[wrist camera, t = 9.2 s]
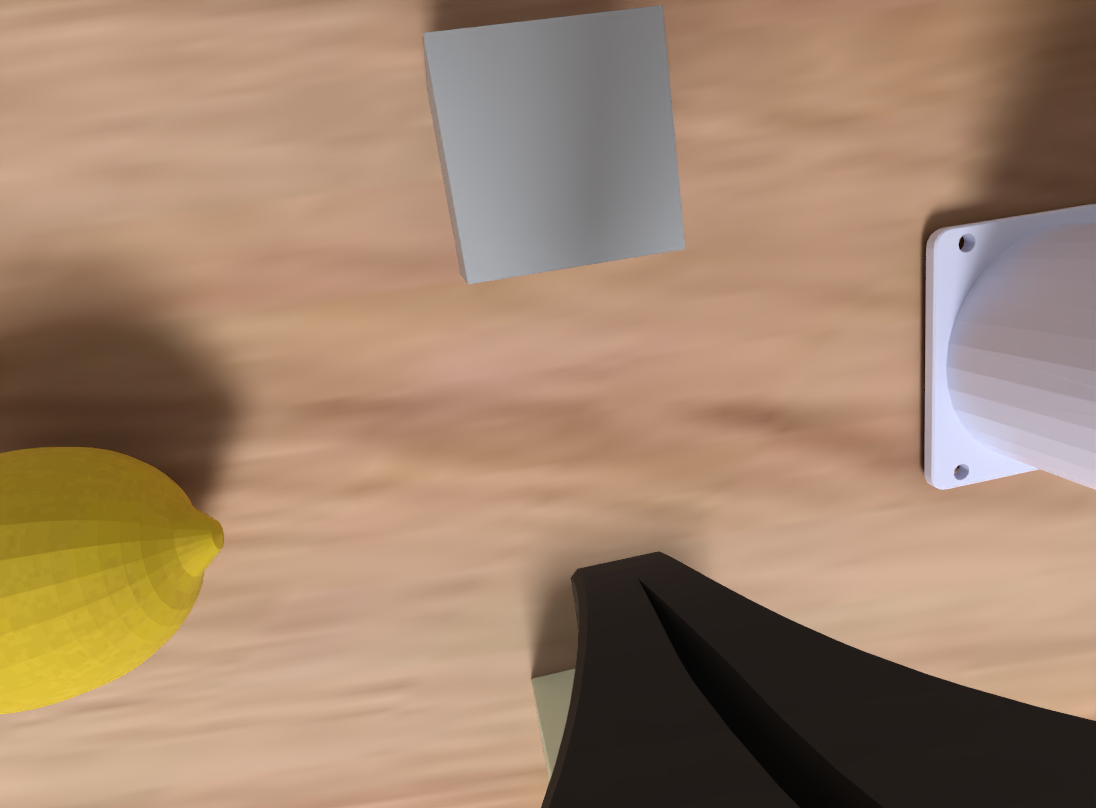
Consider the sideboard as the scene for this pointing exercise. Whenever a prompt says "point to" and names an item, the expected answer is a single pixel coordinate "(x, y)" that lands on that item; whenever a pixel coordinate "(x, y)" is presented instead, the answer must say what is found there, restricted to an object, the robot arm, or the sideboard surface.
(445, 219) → the sideboard surface
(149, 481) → the lemon
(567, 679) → the sage block
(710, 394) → the sideboard surface
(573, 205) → the slate block
